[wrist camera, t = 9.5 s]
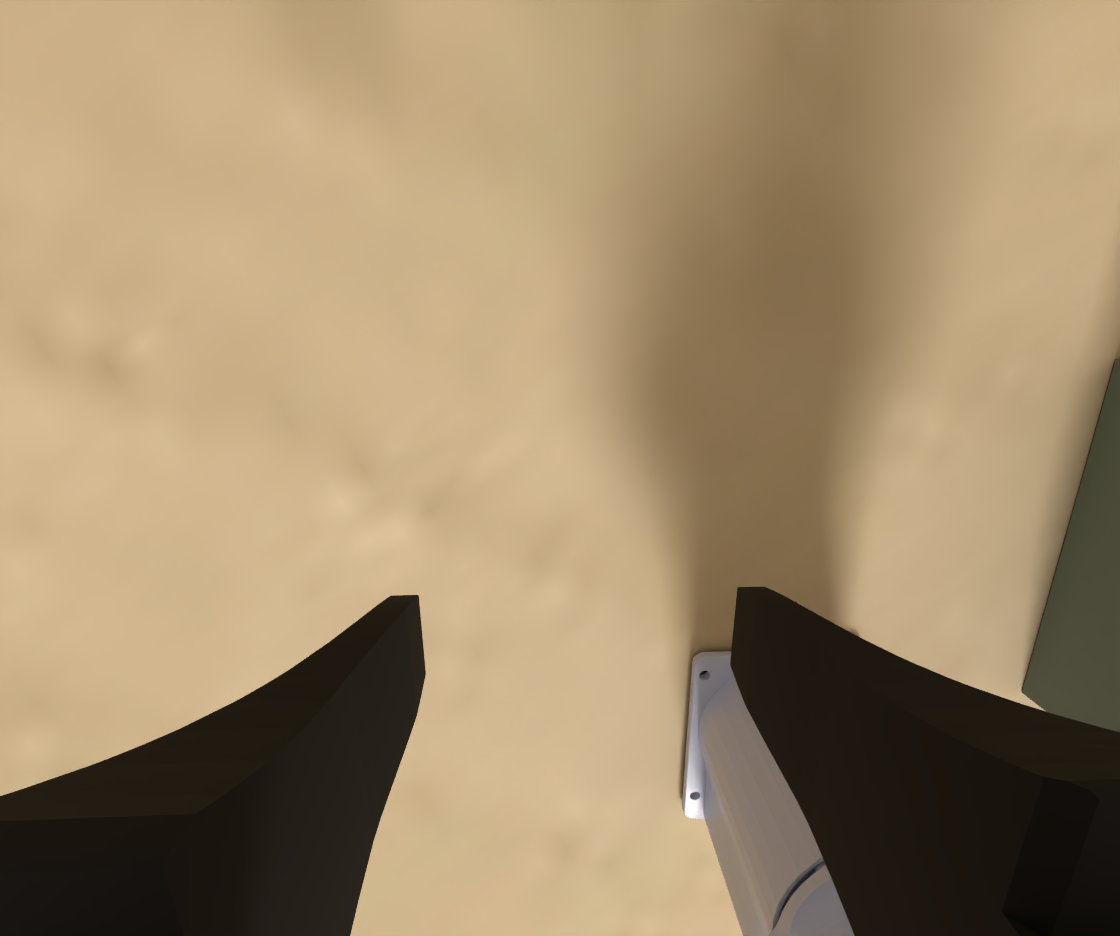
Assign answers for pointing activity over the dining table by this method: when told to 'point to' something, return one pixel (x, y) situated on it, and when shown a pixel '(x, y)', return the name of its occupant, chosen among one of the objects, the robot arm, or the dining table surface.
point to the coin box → (1086, 592)
